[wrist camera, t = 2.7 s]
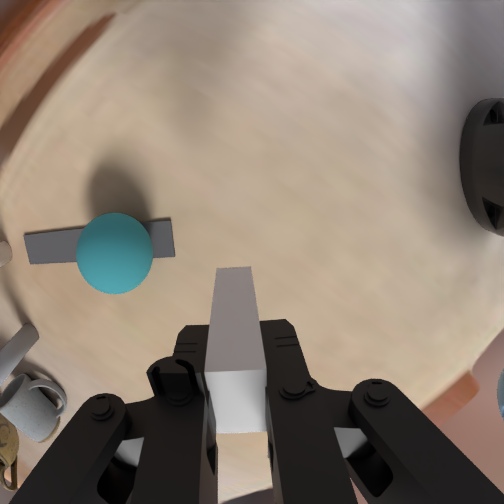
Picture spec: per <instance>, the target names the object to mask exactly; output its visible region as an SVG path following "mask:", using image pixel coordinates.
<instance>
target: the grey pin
mask: <svg viewBox="0 0 504 504" xmlns="http://www.w3.org/2000/svg"><path fill="white" fill-rule="evenodd" d="M38 339H39V334H38V332H37V330H36V329H35V327H34V326H32V325H31V324H28V323H26V324H25V325H24V326H23V327H22V328H21V329H20V330H19V331H18V332H17V333H16V334H15V335H14V336H13V337H12V339H11V340H10V341H9V342H8V343H7V344H6V345H5V346H4V347H3V348H2V349H1V350H0V386H1V385H2V384H3V382H4V381H5V380H6V378H7V377H8V376H9V374H10V373H11V372H12V371H13V369H14V368H15V367H16V366H17V364H18V363H19V362H20V361H21V359H22V358H23V357H24V356H25V354H26V353H27V352H28V351H29V350H30V348H31V347H32V346H33V345H34V344H35V342H36V341H37V340H38Z"/></svg>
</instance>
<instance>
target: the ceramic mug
mask: <svg viewBox="0 0 504 504" xmlns="http://www.w3.org/2000/svg"><path fill="white" fill-rule="evenodd" d="M38 387H47V388H50V389H52V390H54V391H55V392H57V394H58V395H59V396H60V399H61V400H62V403H63V405H62V407H61V408H60V409H58V410H57V408H56V407H55V406H54V404H53V403H52V402H51V401H50V400H49V399H48V398H47V397H46V396H45V395H44V394H43V393H42V392H41V391H40V389H39V388H38ZM66 405H67V398H66V395H65V393H64V392H63V390H62V389H61V388H60V387H59V386H58V385H57V384H56V383H54V382H52V381H50V380H47V379H37V380H33V381H32V380H31V379H30V378H29V377H28V376H27V375H26V374H20V375H19V376H17V377H16V378H15V379H14V380H12V381H11V382H10V383H9V385H8V386H7V387H6V388H5V390H4V391H3V393H2V394H1V396H0V413H1V414H2V415H3V416H4V417H6V418H7V419H8V420H9V421H10V422H11V423H12V424H13V425H15V426H16V427H17V428H18V429H19V430H20V431H22V432H23V433H24V434H25V435H26V436H28V437H29V438H31V439H32V440H34V441H36V442H38V443H42V442H46V441H47V440H49V439H50V438H51V437H52V436H53V435H54V434H55V432H56V431H57V429H58V427H59V424H60V416H61V415H62V414H63V413H64V411H65V409H66Z"/></svg>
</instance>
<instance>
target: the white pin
mask: <svg viewBox="0 0 504 504" xmlns="http://www.w3.org/2000/svg"><path fill="white" fill-rule="evenodd" d="M11 259H12V251H11V248H10V246H9V244H8V243H7V242H5V241H1V242H0V267H2V266H3V265H5V264H6V263H8V262H10V261H11Z"/></svg>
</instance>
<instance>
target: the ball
mask: <svg viewBox="0 0 504 504" xmlns="http://www.w3.org/2000/svg"><path fill="white" fill-rule="evenodd" d="M76 259H77V264H78V268H79V270H80V272H81V274H82V276H83V277H84V279H85V280H86V281H87V282H88V283H89V284H90V285H91V286H92V287H93V288H95V289H97V290H99V291H101V292H104V293H108V294H121V293H125V292H128V291H131V290H132V289H134V288H136V287H137V286H138V285H139V284H140V283H141V282H142V281H143V280H144V279H145V278H146V276H147V274H148V272H149V270H150V268H151V265H152V260H153V247H152V242H151V239H150V236H149V234H148V232H147V231H146V229H145V228H144V227H143V225H142V224H141V223H140V222H138V221H137V220H136V219H134V218H133V217H131V216H128V215H126V214H122V213H107V214H103V215H101V216H98V217H96V218H95V219H93V220H92V221H91V222H89V223H88V225H87V226H86V227H85V228H84V229H83V231H82V233H81V235H80V237H79V239H78V242H77V248H76Z"/></svg>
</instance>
